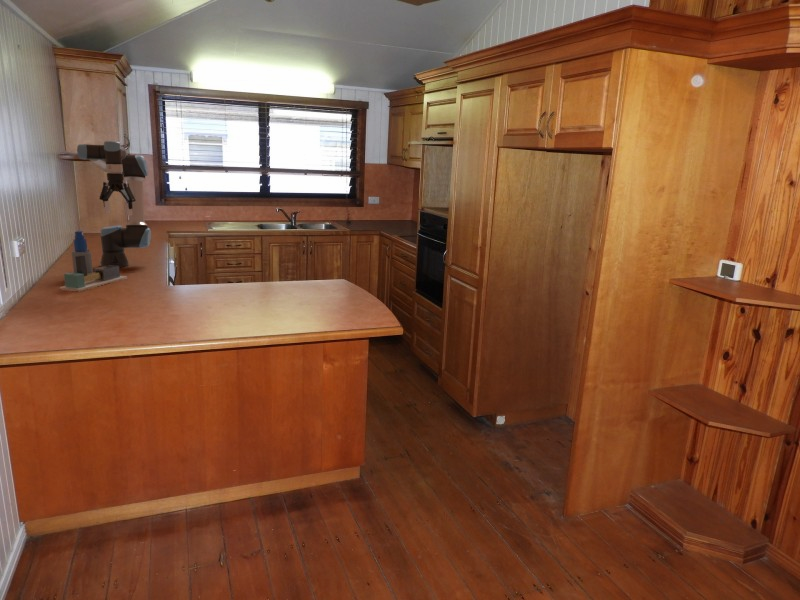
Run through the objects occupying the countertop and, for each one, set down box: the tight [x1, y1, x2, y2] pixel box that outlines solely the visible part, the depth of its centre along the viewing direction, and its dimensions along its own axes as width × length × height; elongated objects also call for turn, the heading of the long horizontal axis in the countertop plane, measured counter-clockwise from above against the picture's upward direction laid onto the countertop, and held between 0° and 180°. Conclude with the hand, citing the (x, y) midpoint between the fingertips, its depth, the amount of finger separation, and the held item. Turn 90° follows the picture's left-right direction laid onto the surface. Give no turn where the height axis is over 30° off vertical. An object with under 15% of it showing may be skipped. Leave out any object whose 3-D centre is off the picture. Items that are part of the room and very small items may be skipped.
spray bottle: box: [71, 230, 94, 274], centre depth 300 cm, size 9×9×25 cm
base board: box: [59, 275, 128, 293], centre depth 290 cm, size 32×12×1 cm, turn 164°
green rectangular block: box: [63, 272, 85, 288], centre depth 278 cm, size 4×8×6 cm, turn 74°
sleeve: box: [93, 265, 121, 281], centre depth 297 cm, size 11×6×6 cm, turn 164°
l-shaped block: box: [75, 256, 102, 282], centre depth 284 cm, size 18×3×13 cm, turn 164°
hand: (118, 214), depth 292 cm, fingers open, 13 cm apart
